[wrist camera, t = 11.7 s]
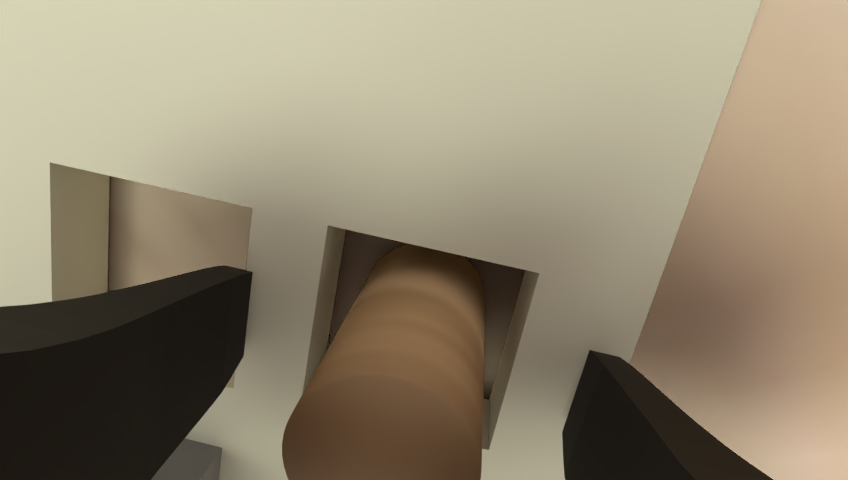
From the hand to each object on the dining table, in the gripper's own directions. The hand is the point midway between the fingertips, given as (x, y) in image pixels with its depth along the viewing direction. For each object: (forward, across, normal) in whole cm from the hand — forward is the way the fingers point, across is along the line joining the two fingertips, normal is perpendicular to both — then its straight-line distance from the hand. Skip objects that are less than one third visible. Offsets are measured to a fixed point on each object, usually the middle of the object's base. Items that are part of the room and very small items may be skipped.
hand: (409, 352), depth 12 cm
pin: (+2, 0, 0) cm, 2 cm away
